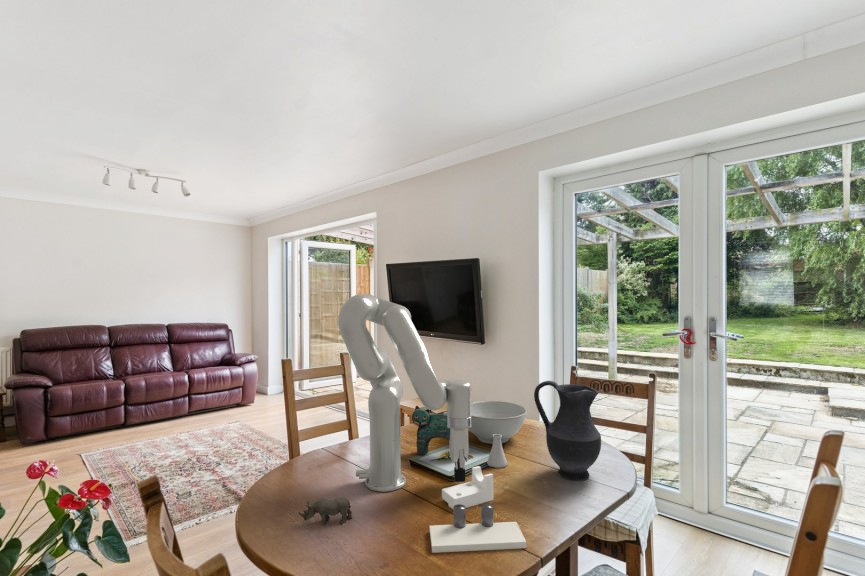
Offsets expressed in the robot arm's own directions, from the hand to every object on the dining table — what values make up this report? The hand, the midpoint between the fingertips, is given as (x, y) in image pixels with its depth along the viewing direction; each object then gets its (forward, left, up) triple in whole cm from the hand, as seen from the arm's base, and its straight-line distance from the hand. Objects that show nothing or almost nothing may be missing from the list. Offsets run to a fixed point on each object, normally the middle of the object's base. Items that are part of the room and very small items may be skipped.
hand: (459, 480), depth 138 cm
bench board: (0, -31, -1) cm, 31 cm away
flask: (+15, +15, -1) cm, 21 cm away
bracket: (+1, -11, -2) cm, 11 cm away
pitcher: (+36, +5, -1) cm, 36 cm away
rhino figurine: (-38, -19, -1) cm, 43 cm away
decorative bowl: (+19, +41, -1) cm, 45 cm away
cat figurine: (-4, +25, -1) cm, 25 cm away
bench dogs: (0, -27, -1) cm, 27 cm away
